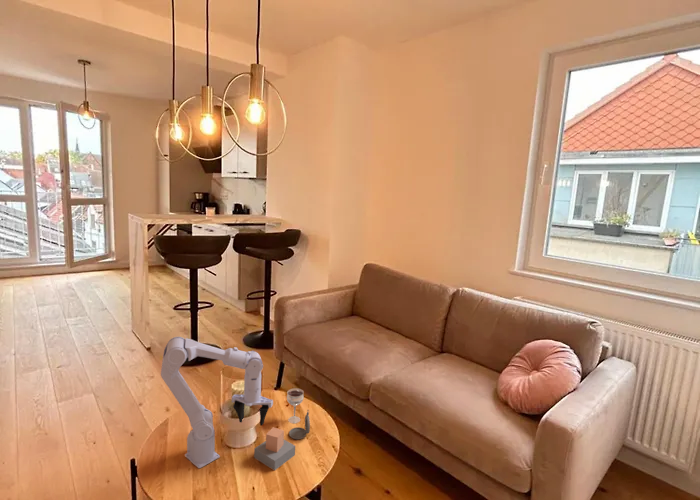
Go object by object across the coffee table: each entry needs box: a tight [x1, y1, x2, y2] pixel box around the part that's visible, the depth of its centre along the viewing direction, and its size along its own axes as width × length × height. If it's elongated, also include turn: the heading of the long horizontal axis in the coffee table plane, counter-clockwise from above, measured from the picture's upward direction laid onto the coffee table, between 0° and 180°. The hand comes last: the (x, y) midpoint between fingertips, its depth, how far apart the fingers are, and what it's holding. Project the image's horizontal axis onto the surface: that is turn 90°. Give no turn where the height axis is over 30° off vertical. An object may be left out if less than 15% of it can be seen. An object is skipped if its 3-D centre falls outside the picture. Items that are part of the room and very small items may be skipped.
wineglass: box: [286, 387, 305, 424], centre depth 160 cm, size 7×7×12 cm
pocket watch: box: [288, 409, 311, 440], centre depth 151 cm, size 8×8×10 cm
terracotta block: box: [265, 426, 285, 452], centre depth 138 cm, size 4×4×6 cm
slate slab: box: [253, 439, 296, 471], centre depth 138 cm, size 10×10×4 cm
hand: (251, 422), depth 140 cm, fingers open, 7 cm apart
